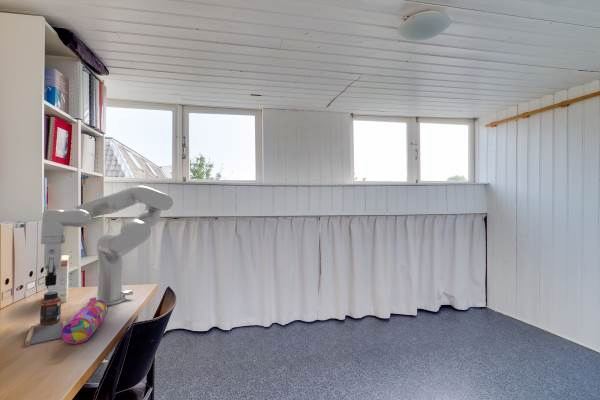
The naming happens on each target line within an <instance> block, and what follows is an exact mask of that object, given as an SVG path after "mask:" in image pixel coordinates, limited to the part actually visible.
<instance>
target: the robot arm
mask: <svg viewBox="0 0 600 400" xmlns="http://www.w3.org/2000/svg"><path fill="white" fill-rule="evenodd" d="M137 204H143V205H145V207H144V208H145V209H144V210H143V212H141V213H140V214H138V215H137V216H135V217H133V218H132V219H131V220H129V221H127V222H126V223H124V224H123V225H122V226H121V227H120V233H119V234H118V233H106V234H104V235H101V236H100V237H99V238H98V240H97V242H96V252H97V263H98V264H97V285H96V286H97V287H96V288H97V290H96V291H97V293H96V296H97V297H96V300H102V301H104V302H105V304H106V306H112V305H117V304H120V303H123V302H124V301H126V296H133V295H134V290H129V289H128V290H123V256H125V255H127V254H129V253H131V252H132V251H133V250H135V249H136V248H137V247H139V246H140V245H142V244H143V243H144V242H146V241H147V240H148V239H149V238H150V237H151V234H152V228H153V227H154V226H155V225H156V224H157V223H158V222H159V220H160V217H161V212H162V211H168V210H170V209H171V208H172V207H173V205H174V200H173V198H172V196H171V195H170V194H169V193H168V194H167V193H164V192H162V191H159V190H156V189H154V188H152V187H148V186H145V185H136V186H135V185H133V186H129V187H128V188H125V189H122V190H119V191H117V192H115V193H111V194H109V195H106V196H103V197H100V198H97V199H94V200H91V201H87V202H85V203H81V204H80V205H79V204H78V205H76V206H74V207H71V208H68V209H67V210H65V209H44V210H43V212H42V217H41V218H42V219H41V232H40V233H41V234H40V235H41V236H40V244H41V245H44V249H43V251H44V252H43V267H44V268H43V269H45V270H46V274H45V280H44V281H45V283H44V286H45V287H48V286H53V285H56V275H57V274H56V268H57V267H58V268H60V267H61V256H62V255H63V253H62V252H63V244H65V243H66V234H67V233H66V230H67V227H69V228H70V227H71V228H72V227H73V228H83V227H85V226H88V225H89V223H90V222H91V221H92V219H94V218H95V217H99V216H105V215H112V214H115V213H118V212H120V211H122V210H125V209H127V208H130V207H132V206H134V205H137Z"/></svg>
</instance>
